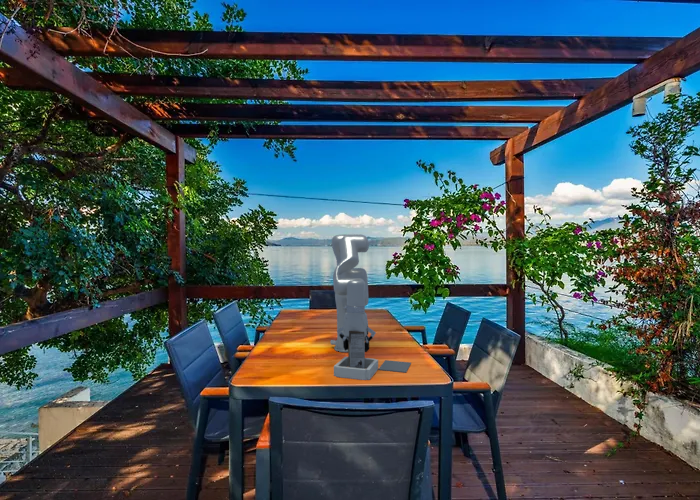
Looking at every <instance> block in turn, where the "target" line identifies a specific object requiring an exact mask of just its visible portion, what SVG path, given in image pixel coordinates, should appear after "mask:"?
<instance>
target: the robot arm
mask: <svg viewBox="0 0 700 500" xmlns="http://www.w3.org/2000/svg"><path fill="white" fill-rule="evenodd" d="M369 243H370V242H369V240H368V237H367V235H365V234H337V235H333V237H332V238H331V247H332V252H333V254H334V257H335V259H336V267H335V269H334V271H333V274H332V281H333V291H334V297H335V298H334V299H335V306H336V327H337V328H336V336H337V339H336V340H335V339H331V340H330V346H331V345H334V350H335V351H336V352H338V351H339V352H338V353H348V337H349V331H359V332H365V353H367V352H369V350H370V341H372V340H373V338H375V335H376V333H377V332H376V331H374V330H373V329H372V328H371V327H369V323H368V314H367V312H366V311H365V309H366V308H365V307H367V306H368V304H369V283H368V273H367V270H366V269H365V268H363V267H357V266H358V265H359V263H360V259H359V253H367V252H368V251H369V248H370V244H369ZM369 333H370V335H369ZM368 335H369V336H368Z"/></svg>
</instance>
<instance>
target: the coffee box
mask: <svg viewBox="0 0 700 500" xmlns="http://www.w3.org/2000/svg"><path fill="white" fill-rule="evenodd" d="M347 353H348V356H347V357H348V359H349V366H348V367H352V368H362V369H366V368H365V358H366V352H365V332H359V331H349V337H348V352H347Z"/></svg>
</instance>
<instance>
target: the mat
mask: <svg viewBox="0 0 700 500" xmlns="http://www.w3.org/2000/svg"><path fill="white" fill-rule="evenodd" d="M411 364H412V362H409V361H399V360H397V361H396V360H388V359H387V360H384V361H383V362H382V364H381V365H380V366H379V367H378V370H377V371H384V372H394V373H396V372H397V373H403V374H404V373H407V372H408V370H409V368H410V367H411Z"/></svg>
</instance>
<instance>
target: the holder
mask: <svg viewBox="0 0 700 500" xmlns="http://www.w3.org/2000/svg"><path fill="white" fill-rule="evenodd" d="M378 369H379V359H376V358H370V357H365V369H362V368H352V367H349V359H348V356H344V357H342V359H340V360H339V361H338V362H337V363H336V364H334V366H333V377H337V378H343V379H353V380H361V381H362V380H363V381H366V380H367V381H371V379H372V378H373V376H374V375H375V374H376V373H377V371H379V370H378Z"/></svg>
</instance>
